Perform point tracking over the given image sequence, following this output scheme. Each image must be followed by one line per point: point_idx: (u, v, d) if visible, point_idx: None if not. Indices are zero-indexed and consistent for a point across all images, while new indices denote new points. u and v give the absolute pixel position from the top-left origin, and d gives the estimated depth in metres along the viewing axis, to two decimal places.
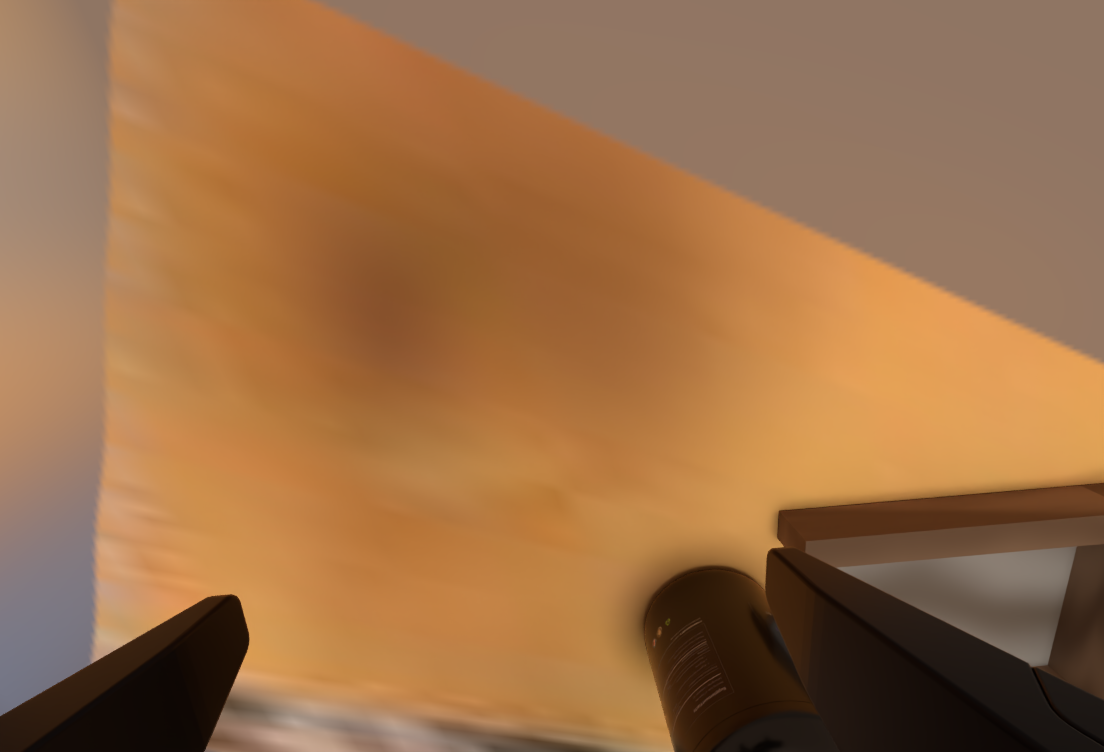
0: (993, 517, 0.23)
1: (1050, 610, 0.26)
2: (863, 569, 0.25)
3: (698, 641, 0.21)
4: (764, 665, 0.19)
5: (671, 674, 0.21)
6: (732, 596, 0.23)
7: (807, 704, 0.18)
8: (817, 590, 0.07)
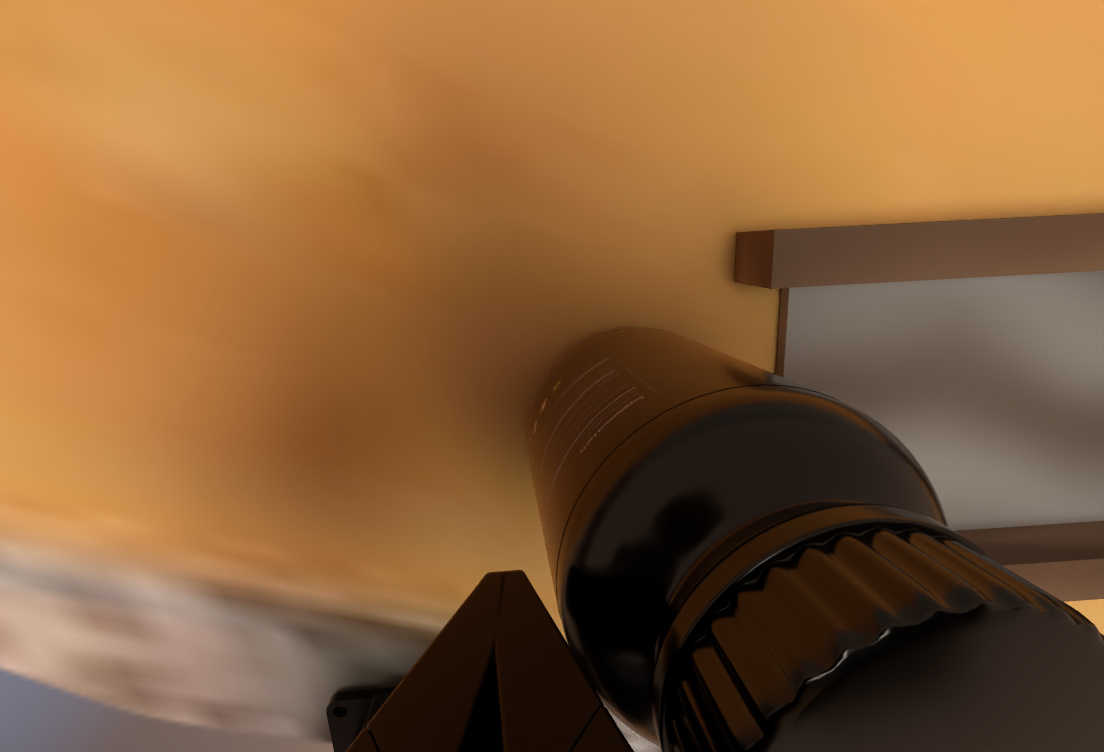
0: None
1: None
2: (869, 336, 0.16)
3: (601, 375, 0.12)
4: (718, 366, 0.10)
5: (552, 438, 0.12)
6: (665, 337, 0.14)
7: (809, 391, 0.08)
8: (495, 618, 0.07)
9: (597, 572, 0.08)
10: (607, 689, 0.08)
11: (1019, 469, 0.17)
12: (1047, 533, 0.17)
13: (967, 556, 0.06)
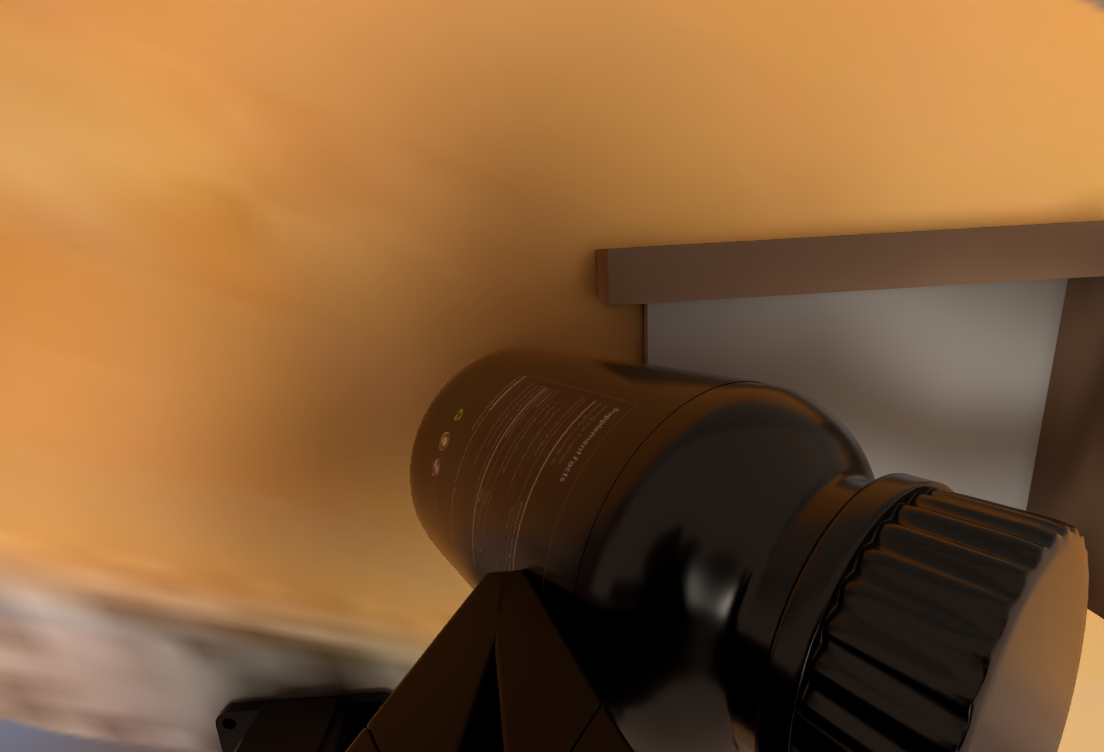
0: None
1: (1023, 432, 0.17)
2: (731, 349, 0.16)
3: (530, 395, 0.11)
4: (666, 370, 0.10)
5: (486, 474, 0.10)
6: (564, 351, 0.13)
7: None
8: (495, 618, 0.07)
9: (650, 612, 0.07)
10: (661, 745, 0.07)
11: None
12: None
13: None
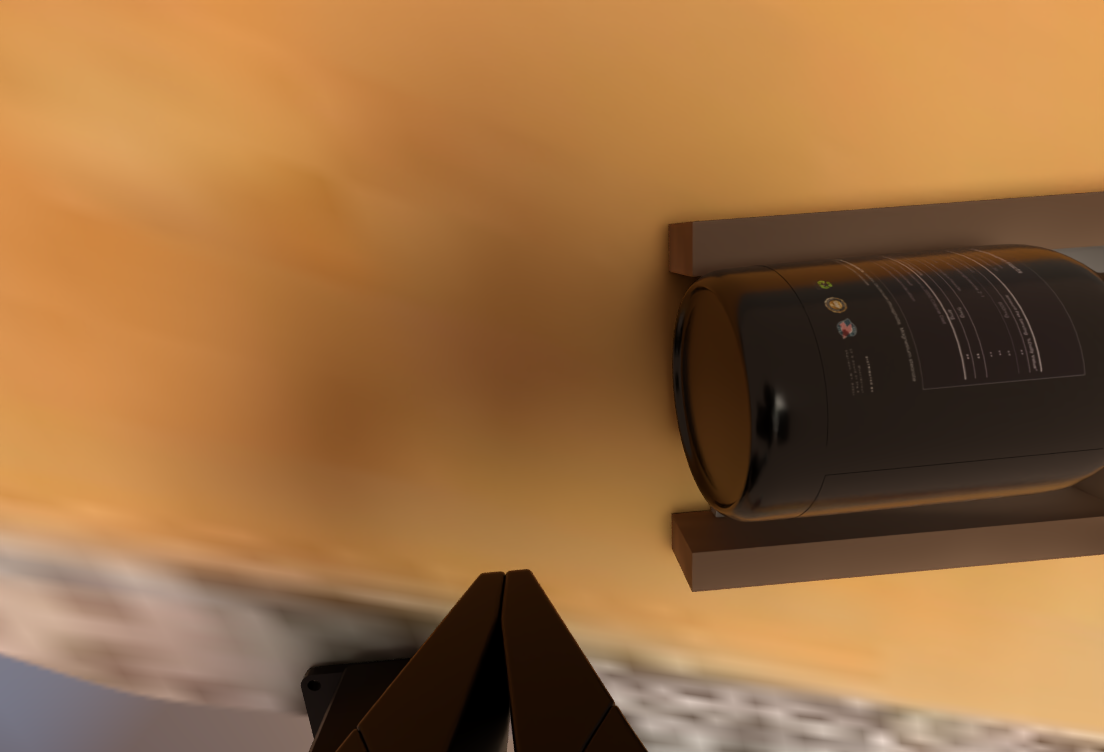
0: None
1: None
2: None
3: (882, 259, 0.13)
4: None
5: (939, 299, 0.11)
6: None
7: None
8: (504, 618, 0.07)
9: None
10: None
11: None
12: (974, 502, 0.18)
13: None
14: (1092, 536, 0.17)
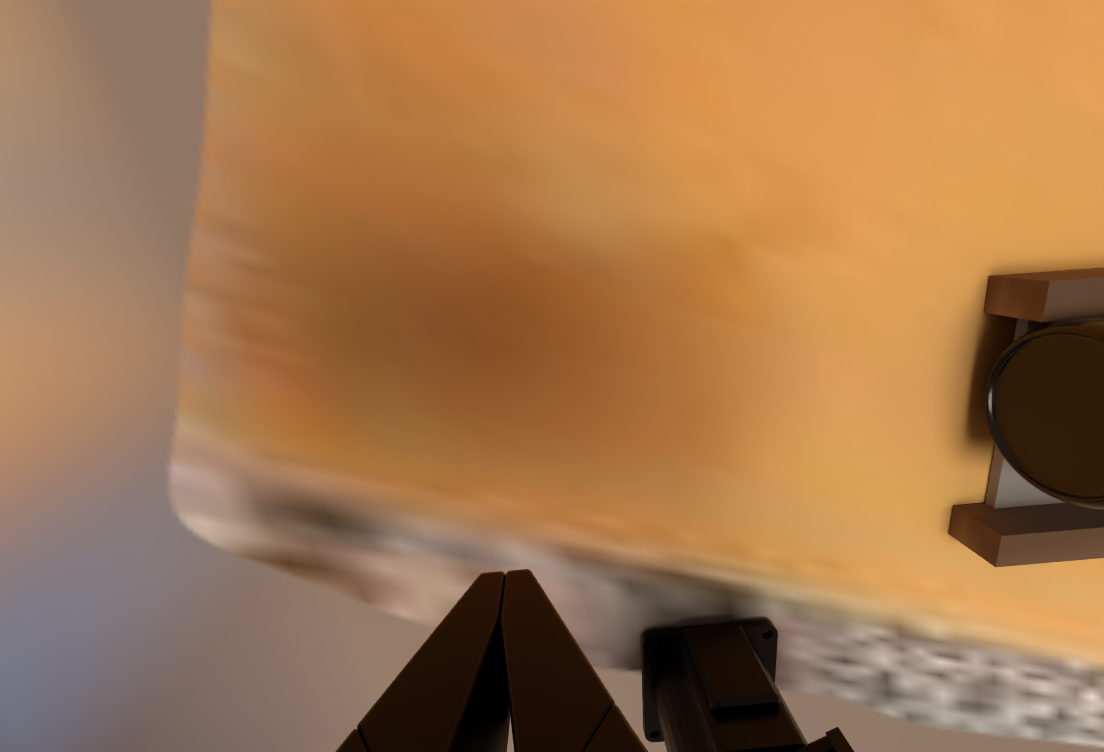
0: None
1: None
2: None
3: None
4: None
5: None
6: None
7: None
8: (504, 618, 0.07)
9: None
10: None
11: None
12: None
13: None
14: None
